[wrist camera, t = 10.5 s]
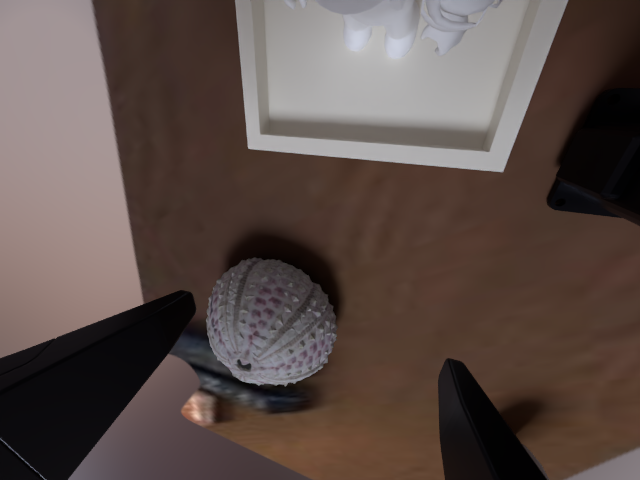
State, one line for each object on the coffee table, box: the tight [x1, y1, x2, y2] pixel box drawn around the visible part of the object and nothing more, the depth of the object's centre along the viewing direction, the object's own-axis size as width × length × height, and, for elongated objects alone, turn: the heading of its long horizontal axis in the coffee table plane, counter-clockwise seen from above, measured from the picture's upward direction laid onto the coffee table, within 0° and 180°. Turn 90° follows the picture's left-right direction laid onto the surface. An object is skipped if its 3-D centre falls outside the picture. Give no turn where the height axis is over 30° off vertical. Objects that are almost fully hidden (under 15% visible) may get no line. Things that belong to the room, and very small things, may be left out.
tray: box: [235, 0, 568, 172], centre depth 13 cm, size 16×14×2 cm
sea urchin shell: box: [206, 257, 338, 386], centre depth 24 cm, size 13×14×8 cm
